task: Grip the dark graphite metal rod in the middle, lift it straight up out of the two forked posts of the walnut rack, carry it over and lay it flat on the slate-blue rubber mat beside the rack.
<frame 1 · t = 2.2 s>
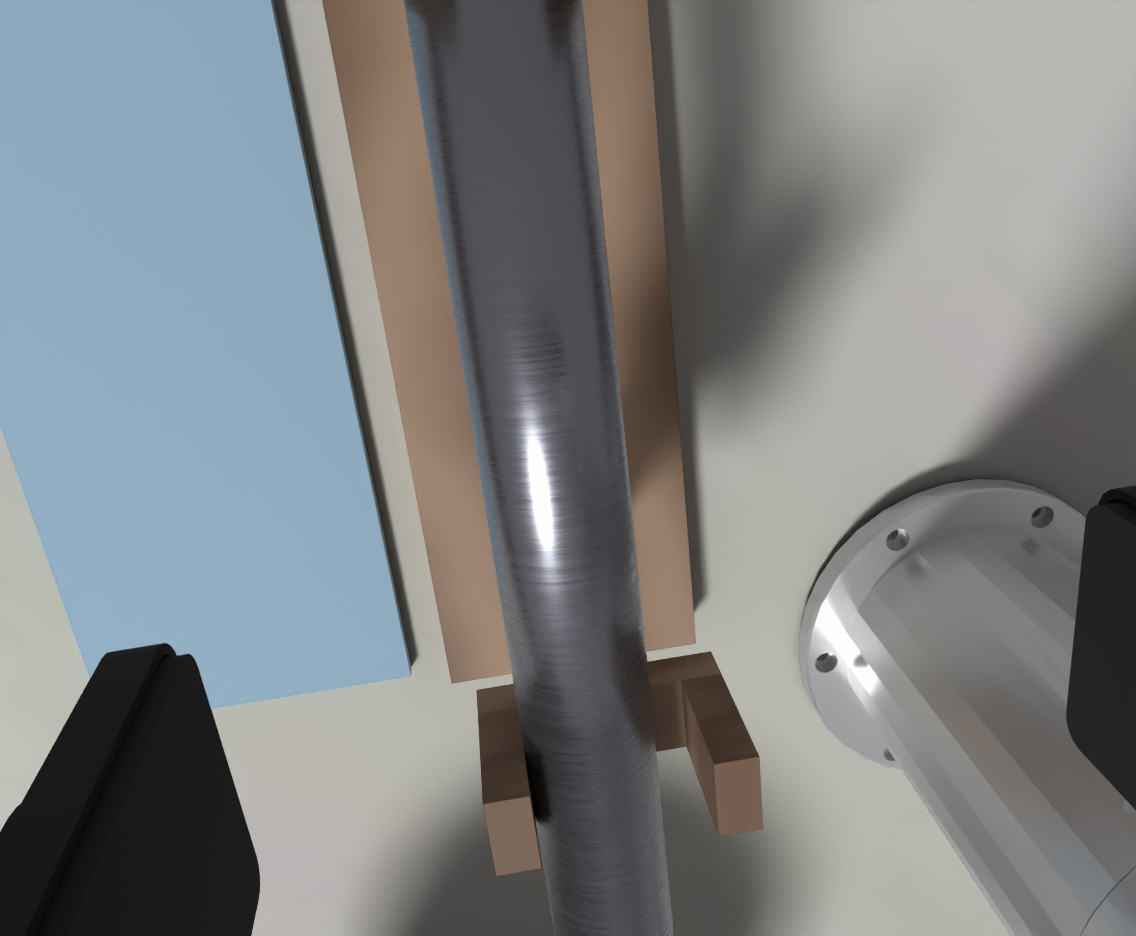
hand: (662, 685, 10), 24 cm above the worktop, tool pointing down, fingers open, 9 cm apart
mat: (143, 259, 31), on the worktop
rod: (562, 381, 21), point 12 cm above the worktop, tilted 19°, touching rack
rack: (521, 273, 32), on the worktop
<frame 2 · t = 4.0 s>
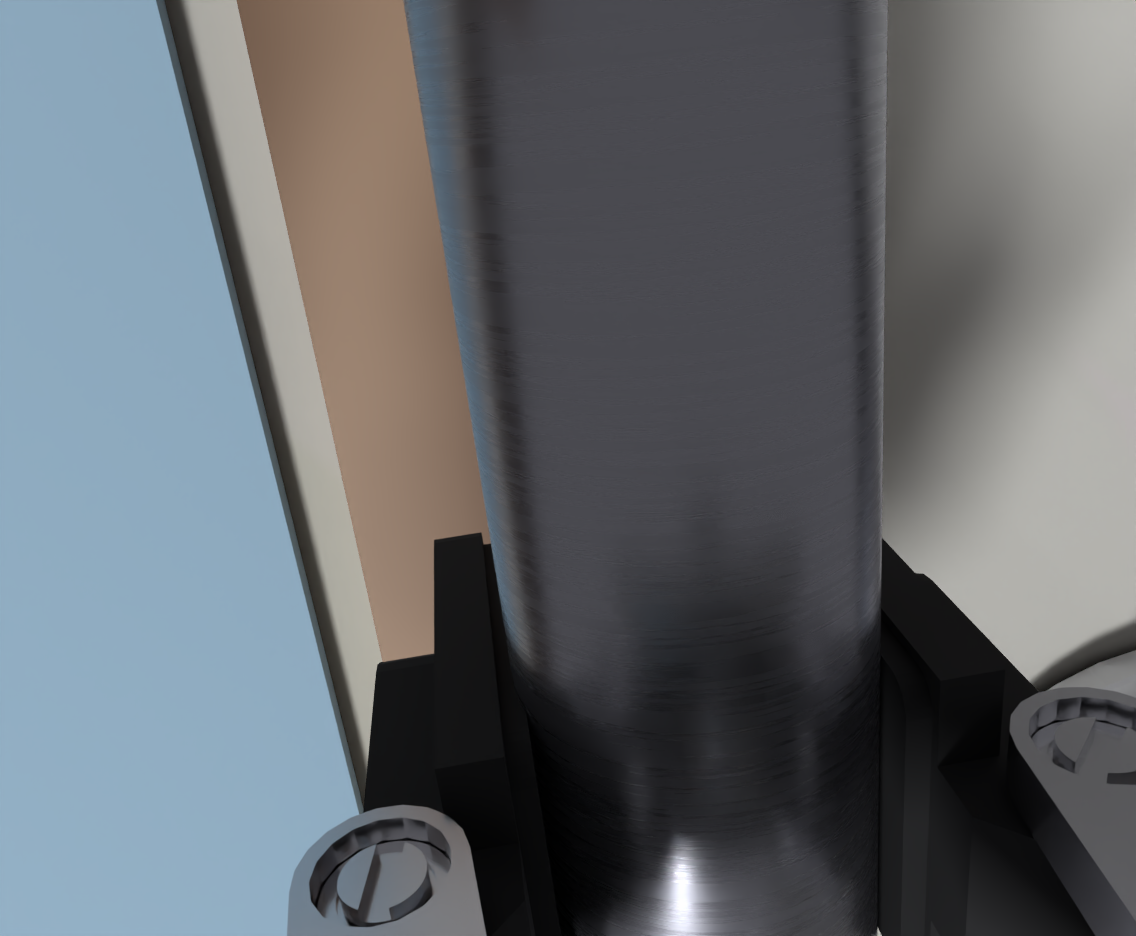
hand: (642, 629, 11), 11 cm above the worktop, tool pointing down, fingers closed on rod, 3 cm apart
rod: (669, 694, 10), point 12 cm above the worktop, touching gripper, rack
rack: (547, 366, 21), on the worktop
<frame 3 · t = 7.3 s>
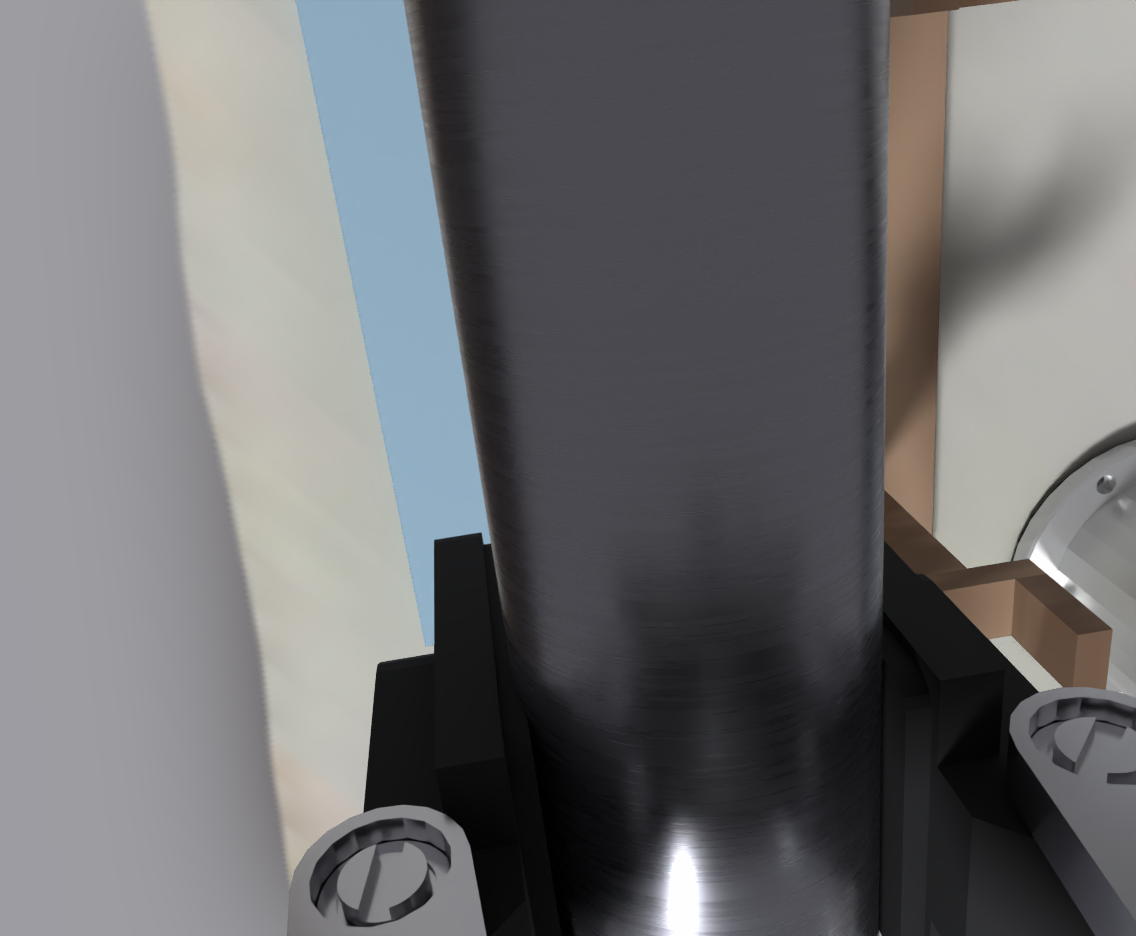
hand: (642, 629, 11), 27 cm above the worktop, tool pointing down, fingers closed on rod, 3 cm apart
mat: (501, 241, 36), on the worktop
rod: (669, 693, 10), point 28 cm above the worktop, touching gripper
rack: (808, 252, 38), on the worktop
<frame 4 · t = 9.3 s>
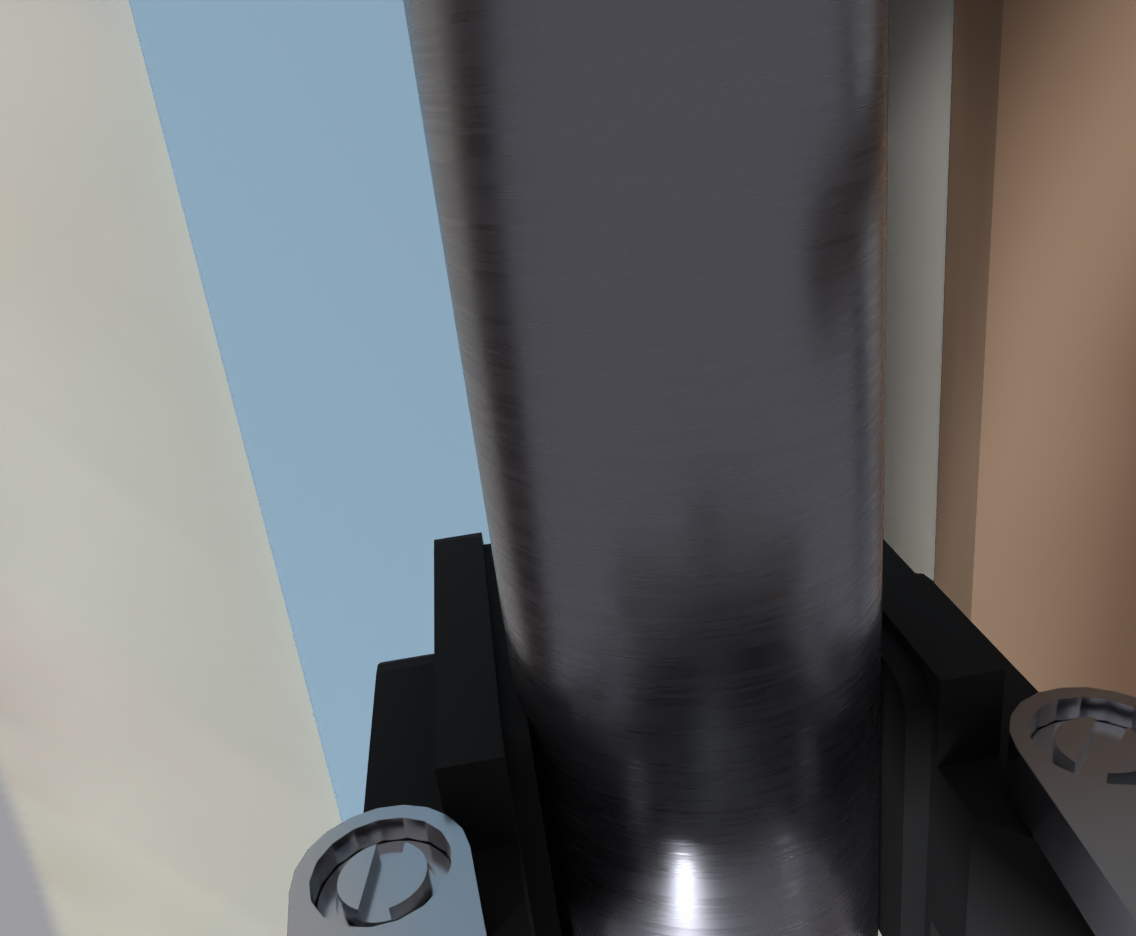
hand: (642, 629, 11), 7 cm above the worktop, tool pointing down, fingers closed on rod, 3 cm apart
mat: (567, 422, 18), on the worktop
rod: (669, 691, 10), point 8 cm above the worktop, touching gripper
when the fingers open (2 cm above the worktop, at t = 10.7 s): rod drops 2 cm, resting on mat.
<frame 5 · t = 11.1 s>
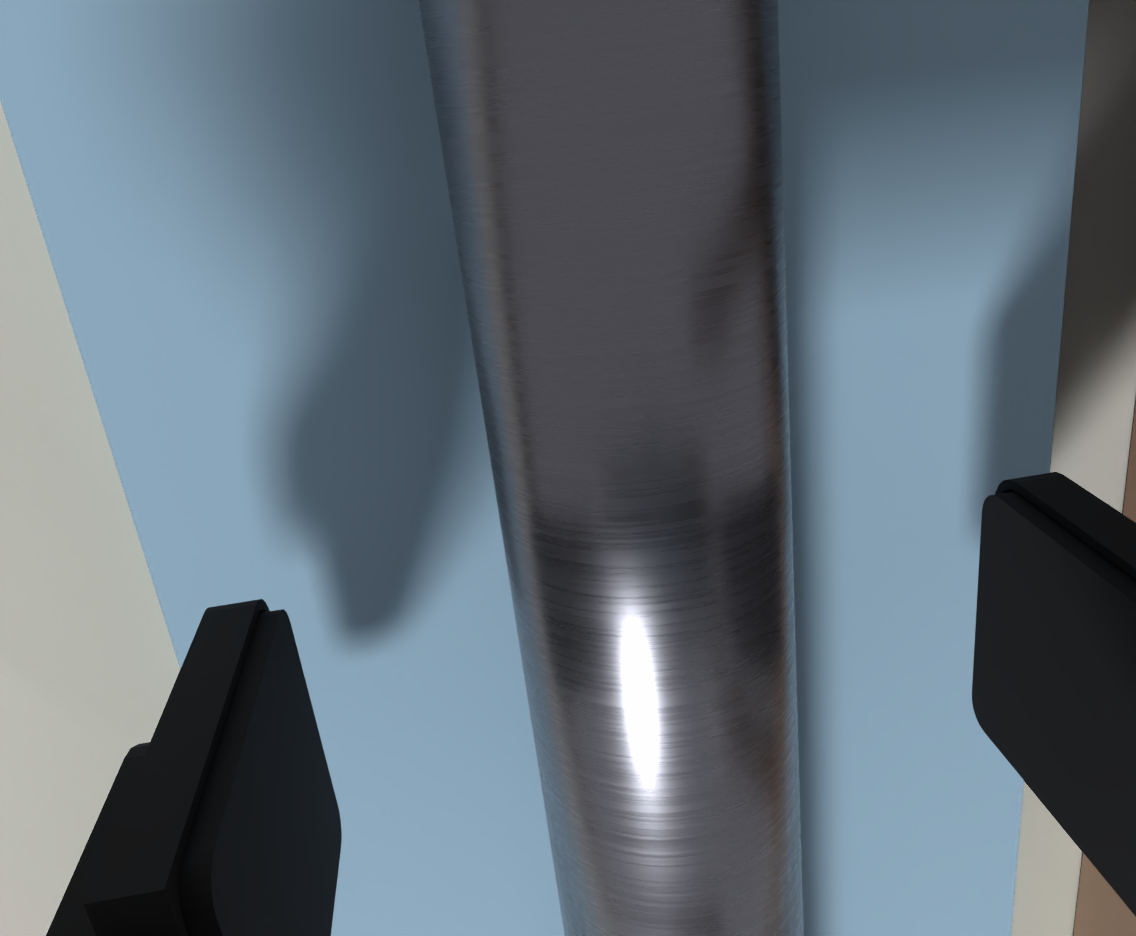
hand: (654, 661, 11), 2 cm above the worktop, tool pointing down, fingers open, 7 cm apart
mat: (616, 560, 13), on the worktop
rod: (631, 581, 12), point 1 cm above the worktop, touching mat
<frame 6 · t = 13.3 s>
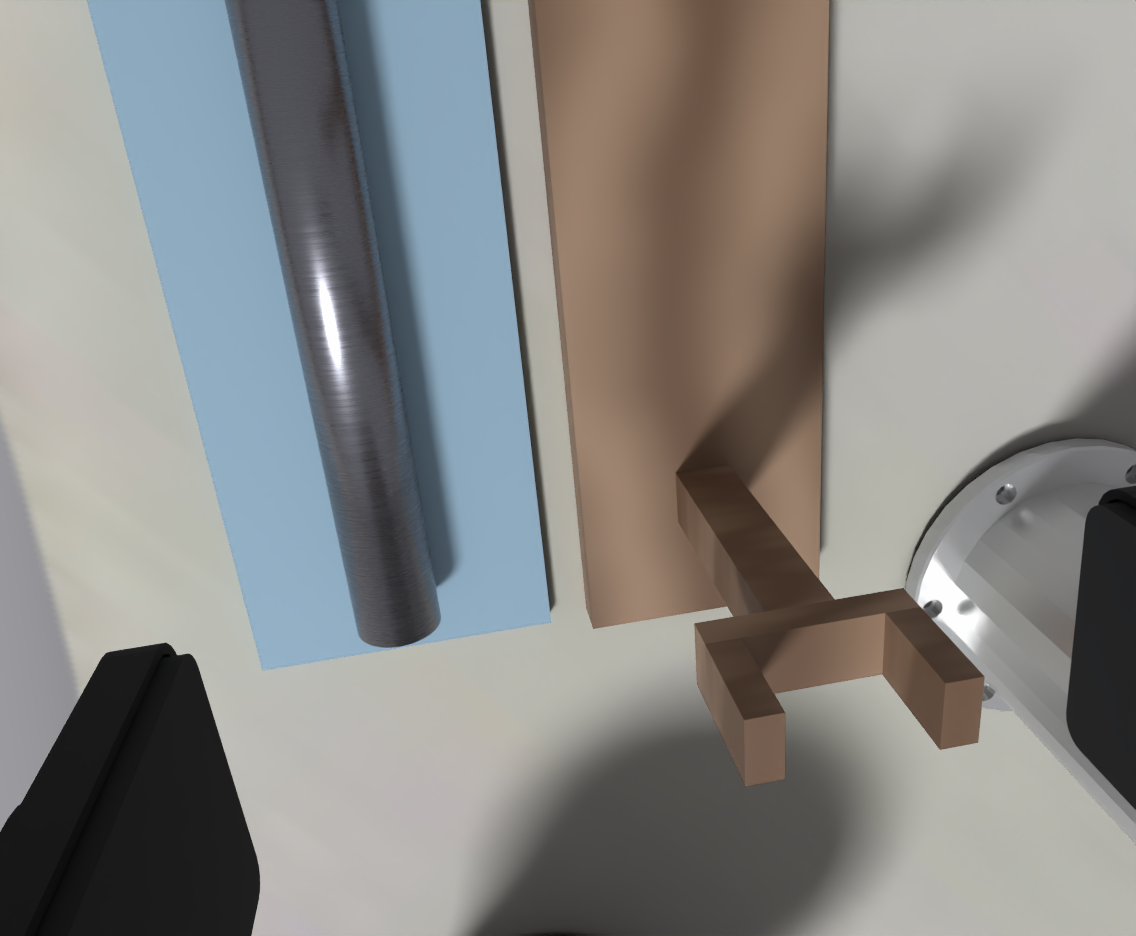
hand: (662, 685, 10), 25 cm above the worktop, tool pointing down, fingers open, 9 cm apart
mat: (331, 220, 32), on the worktop
rod: (333, 223, 31), point 1 cm above the worktop, tilted 6°, touching mat
rack: (682, 239, 34), on the worktop
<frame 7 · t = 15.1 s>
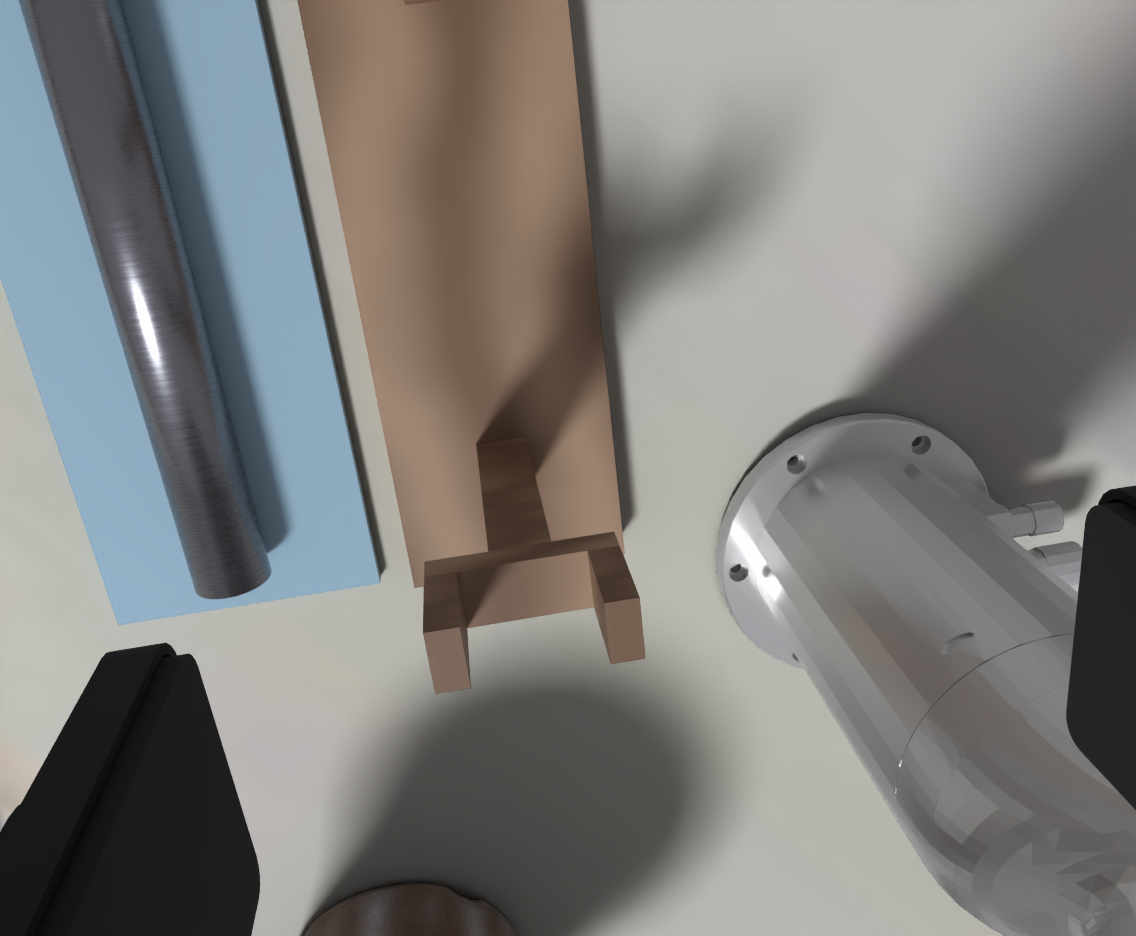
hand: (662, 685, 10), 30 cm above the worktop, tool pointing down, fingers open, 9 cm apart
mat: (149, 220, 36), on the worktop
rod: (147, 222, 36), point 1 cm above the worktop, touching mat
rack: (469, 232, 38), on the worktop
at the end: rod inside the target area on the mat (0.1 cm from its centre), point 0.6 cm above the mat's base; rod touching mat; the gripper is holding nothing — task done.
